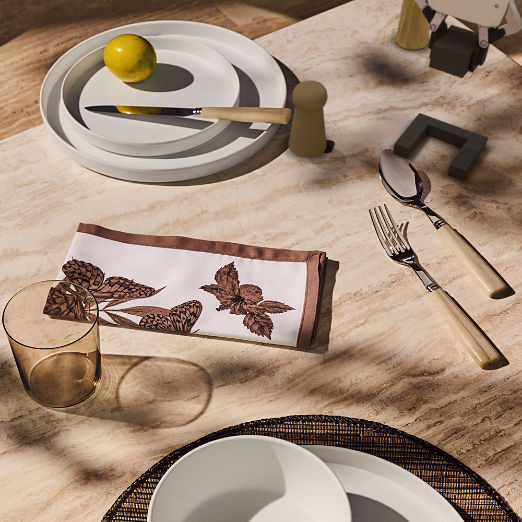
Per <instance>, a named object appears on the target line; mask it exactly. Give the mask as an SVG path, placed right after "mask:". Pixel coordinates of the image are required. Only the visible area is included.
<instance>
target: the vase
mask: <svg viewBox="0 0 522 522" xmlns="http://www.w3.org/2000/svg"><path fill="white" fill-rule="evenodd" d="M429 25H430V24H429V23H428V21H427V19H426V18H425V16H424V15H423V12H422V9H420V8H419V6H418V5H417V4H416V2H415V1H414V0H402V4H401V9H400V14H399V19H398V26H397V30H396V34H395V37H394V41H395V43H396V44H397V45H398V46H399V47H401V48H403V49H405V50H410V51H412V50H413V51H414V50H415V51H416V50H420V49H424V48H425V47H427V45H429V36H430V29H429Z"/></svg>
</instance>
